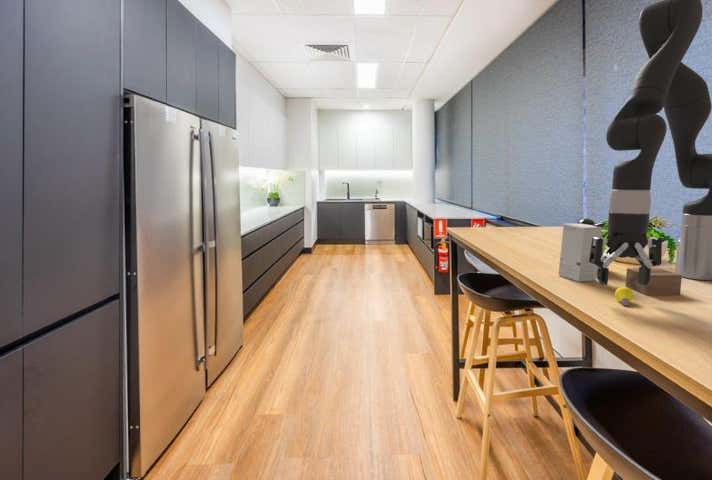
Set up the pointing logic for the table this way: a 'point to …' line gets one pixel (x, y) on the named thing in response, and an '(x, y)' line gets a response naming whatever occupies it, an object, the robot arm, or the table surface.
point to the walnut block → (655, 282)
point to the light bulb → (624, 295)
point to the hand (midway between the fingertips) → (622, 284)
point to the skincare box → (578, 252)
